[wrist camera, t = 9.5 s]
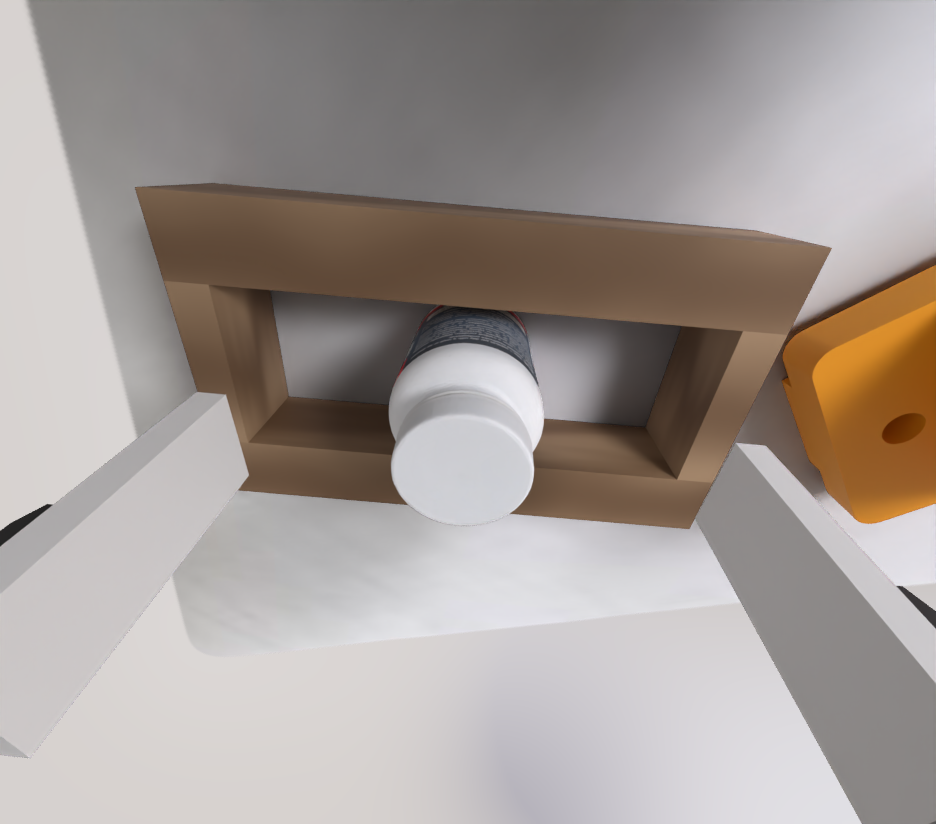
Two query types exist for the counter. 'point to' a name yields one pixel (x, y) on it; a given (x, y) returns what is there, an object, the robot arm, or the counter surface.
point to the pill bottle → (466, 416)
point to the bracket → (871, 400)
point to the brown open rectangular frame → (488, 287)
